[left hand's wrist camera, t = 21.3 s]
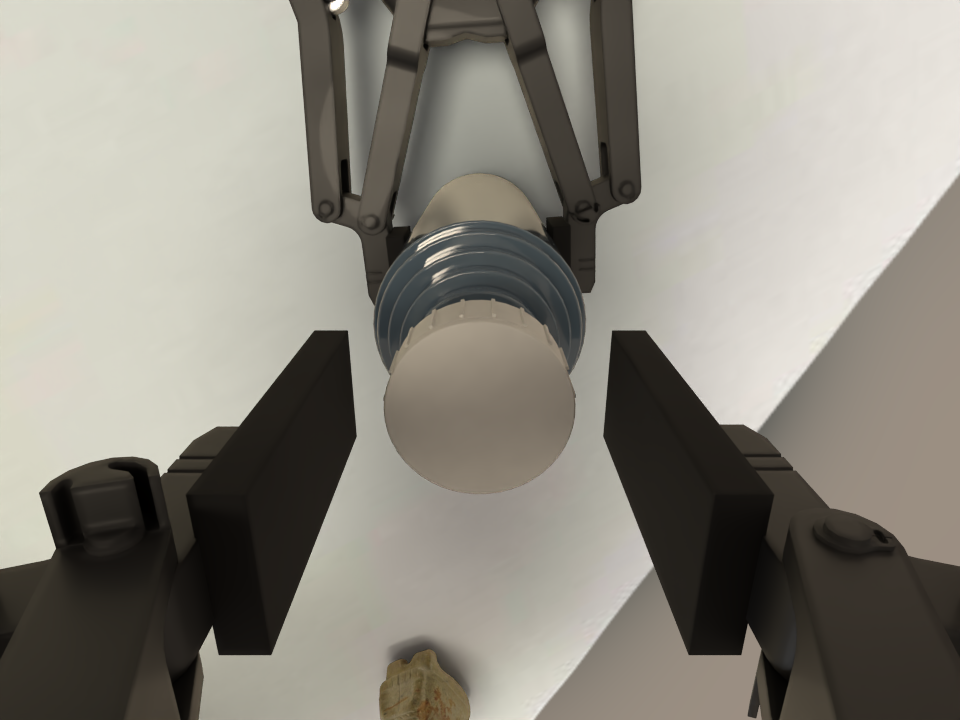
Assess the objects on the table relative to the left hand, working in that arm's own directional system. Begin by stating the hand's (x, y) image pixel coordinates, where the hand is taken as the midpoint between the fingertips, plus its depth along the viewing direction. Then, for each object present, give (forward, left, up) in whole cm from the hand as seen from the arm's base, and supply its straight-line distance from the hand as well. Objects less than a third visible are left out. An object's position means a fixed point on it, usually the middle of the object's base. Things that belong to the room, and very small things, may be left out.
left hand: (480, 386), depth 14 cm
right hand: (-4, -3, -14) cm, 15 cm away
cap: (0, 0, +1) cm, 1 cm away
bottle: (0, 0, -21) cm, 21 cm away
